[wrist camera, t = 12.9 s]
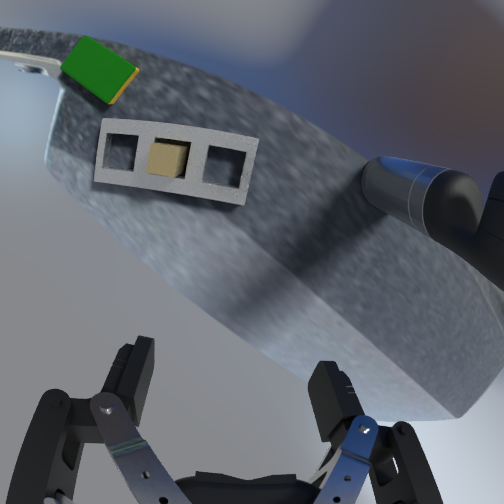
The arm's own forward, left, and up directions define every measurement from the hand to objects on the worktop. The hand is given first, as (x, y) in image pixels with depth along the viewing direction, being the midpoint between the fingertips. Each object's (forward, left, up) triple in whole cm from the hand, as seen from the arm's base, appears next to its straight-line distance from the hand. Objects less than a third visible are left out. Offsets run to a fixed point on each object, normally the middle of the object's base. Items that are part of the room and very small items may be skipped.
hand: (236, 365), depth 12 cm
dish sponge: (+27, -20, -34) cm, 47 cm away
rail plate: (+10, -6, -33) cm, 35 cm away
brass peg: (+10, -6, -33) cm, 35 cm away
